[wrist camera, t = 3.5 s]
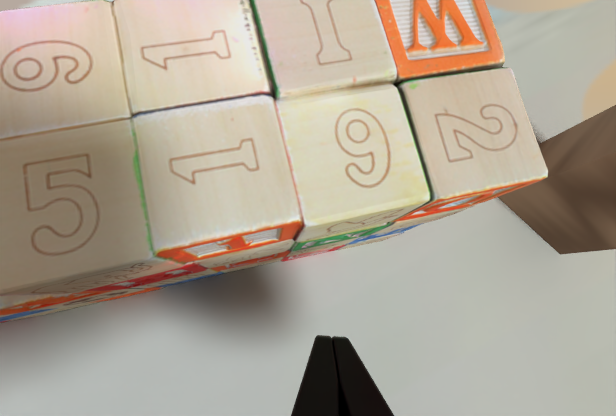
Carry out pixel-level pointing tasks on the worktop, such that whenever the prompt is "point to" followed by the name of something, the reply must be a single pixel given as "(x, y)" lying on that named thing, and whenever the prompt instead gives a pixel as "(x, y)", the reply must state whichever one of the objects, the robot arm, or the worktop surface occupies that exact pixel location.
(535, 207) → the walnut block
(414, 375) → the worktop surface
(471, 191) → the stack of blocks
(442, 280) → the worktop surface
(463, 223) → the worktop surface
